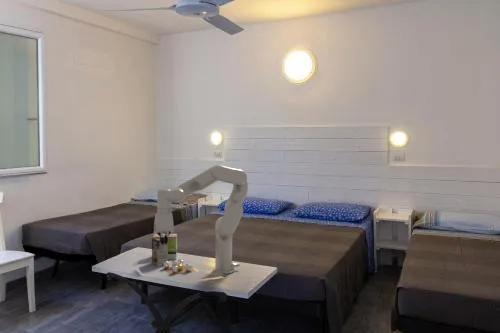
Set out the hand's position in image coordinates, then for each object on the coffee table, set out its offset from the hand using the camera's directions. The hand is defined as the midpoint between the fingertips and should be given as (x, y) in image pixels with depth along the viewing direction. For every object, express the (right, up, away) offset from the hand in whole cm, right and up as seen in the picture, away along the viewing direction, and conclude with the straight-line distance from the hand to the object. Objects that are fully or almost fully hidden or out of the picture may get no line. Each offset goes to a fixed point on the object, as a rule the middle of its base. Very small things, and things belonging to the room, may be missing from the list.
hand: (163, 243), depth 238 cm
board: (+9, -17, +6) cm, 20 cm away
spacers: (+7, -16, +5) cm, 18 cm away
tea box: (-6, -16, +34) cm, 38 cm away
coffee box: (-6, -16, +17) cm, 24 cm away
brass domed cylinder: (+8, -16, +5) cm, 18 cm away
